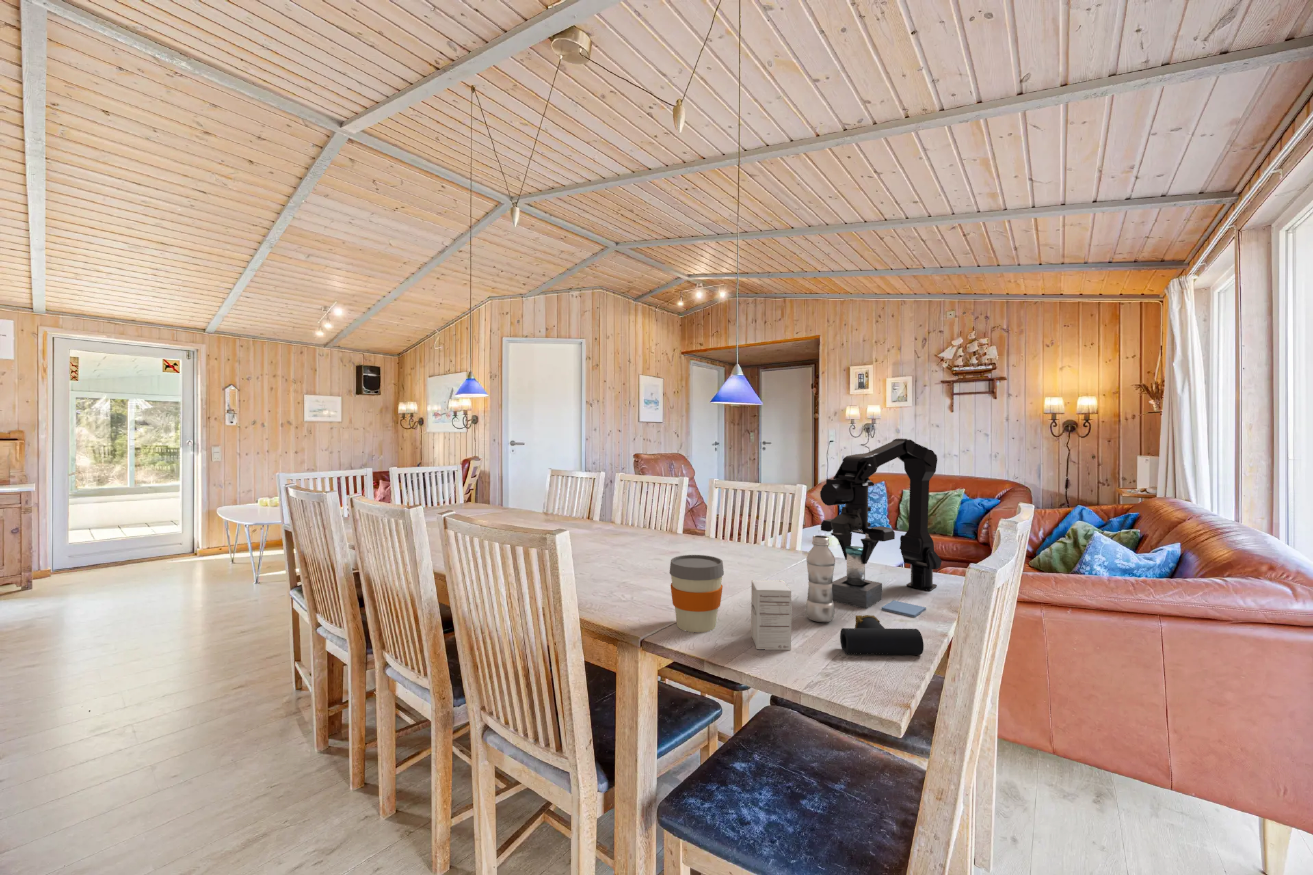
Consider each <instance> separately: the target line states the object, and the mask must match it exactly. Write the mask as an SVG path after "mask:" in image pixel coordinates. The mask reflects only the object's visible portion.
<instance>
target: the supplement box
mask: <svg viewBox="0 0 1313 875" xmlns="http://www.w3.org/2000/svg"><path fill="white" fill-rule="evenodd" d="M750 615H751V616H750V618H751V619H750V623H751V624H750V626H751V627H750V629H751V630H750V635H751V638H752V640H753V642H754V646H755V649H756V650H757V649H765V650H764V651H791V650H792V590H791V589H790V586H788V584H787V583H786V582H785V581H784V580H780V579H777V580H776V579H775V580H774V579H771V580H770V579H769V580H768V579H756V580H754V579H753V580H751V614H750Z"/></svg>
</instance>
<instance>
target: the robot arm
mask: <svg viewBox="0 0 1313 875" xmlns="http://www.w3.org/2000/svg"><path fill="white" fill-rule="evenodd" d="M895 459H898V460H900V461H901V462H902V463H903V468H904V472H905V473H906V475H907V478H908V479H909V498H908V499H909V500H908V507H909V508H908V529H907V531H906V532H905V533H904V535H903V534H902V535H900V538H899V540H900V544H899V550H900V553H901V556H902V560H903V563H904V564H908V565H910V582H908V583H906V585H905V587H908V588H912V587H913V588H914V589H916V590H917V589H918V590H922V591H928V592H929V591H930V592H931V591H932V590H933V589H936V588H937V587H938V585H937V584H935V583H933V582H934V580H933V579H934V570H939V569H940V568H941V566H942V562H943V561H942V559H941V558H940V556H939V555H938V553H937V552H936V550H935V547H934V546H935V544H934V540H933V538H932V536H931V535H930V532H929V528H928V527H929V502H930V500H929V499H930V498H929V497H930V496H929V495H930V481H931V479H932V477H933V476H935V474H936V472H937V464H938V455H937V454H936V453H935V452H934V451H933V450H932V449H929V448H928V447H925V446H923V445H921V444H918V443H917V442H915V441H913V440H912V439H910V438H894V439H892V441H889V442H888V443H885V444H884V445H881V446H879V447H877V448H875V449H872V450H870V451H868V452H865V453H855V454H851V455H846V456H844V457H843V459H842V462H841V463H840V466H839V467H838V469H837V471H836V473H835V474H834V476H833V478H827V479H826V483H825V484H823V485H822V487H821V489H820V492H819V496H820V500H821V501H822V503H823V504H824V505H825V506H830V507H831V506H840V505H844V506H842V508H841V512H840V514H838V515H836V516H835V517H834V518H829V519H824V520H822V521H821V523H820V531H823V532H827V533H829V532H831V533H830V535H831V536H834V538H835V539H836V540H837V541H838V543H839V546H840V549H841V551H842V555H843V557H844V559H845V561H847V553H846V547H847V546H852V538H853V537H852V536H853V533H855V534H861V535H864V538H861V539H860V542H861V543H862V547H863V564H865V565H866V564H867V563H868V562H869V560H870V558H871V556H872V553H873V552H874V549H875V548H876V547H877V545H878V543H879V542H887V541H892V540H895V538H896V536H895V535H896V533H895V531H894V529H893V527H887V526H880V525H879V526H874V527H871V522H869V512H872V507H870V506H869V487H874V486H875V483H874V482H873V480H870V478H871V476H873V475H874V474H875V473H877V471H878V469H879V467H880V466H881V467H882V466H883V465H885V464H887V463H889V462H891V461H893V460H895Z"/></svg>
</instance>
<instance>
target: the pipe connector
mask: <svg viewBox="0 0 1313 875" xmlns="http://www.w3.org/2000/svg"><path fill="white" fill-rule="evenodd" d="M839 634H840V635H839V637H840V638H839V640H840V647H841V650H842V651H843V652H844V654H845V655H886V654H887V655H896V656H897V655H898V656H899V655H901V656H903V655H904V656H905V655H909V656H920V655H922V654H923V652H924V647H925V646H924V645H925V644H924V639H923V635H922V633H921V631H920V630H919V629H918V628H885V627H884V626H883V625H882V624H881V622H880V619H878V618H877V617H876V616H875V615H872V614H871V615H870V614H865V615H862V614H861V615H855V624H854V628H853V627H852V628H850V627H847V628H846V627H844V628H843V627H842V628H841V630H840V633H839ZM887 655H886V656H887Z"/></svg>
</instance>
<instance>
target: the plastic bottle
mask: <svg viewBox="0 0 1313 875" xmlns="http://www.w3.org/2000/svg"><path fill="white" fill-rule="evenodd" d="M811 544H812V545H813V546H812V547H811V549H810V550H809V552H808V553H807V555H806V566H807V580H808V582H807V583H808V588H807V598H806V601H805V608H804V609H805V614H806V616H807V618H808V619H809V620H811V621H814V622H818V623H828V622H831V621H832V620H833V619H834V616H835V605H834V604H835V602H834V601H833V596H832V582H833V581H834V580H833V579H834V571H835V565H836V558H835V555H834V553H833V552H832V551H831V549H830V548H829V546H830V538H829V536H826V535H820V534H819V535H816V534H815V535H812V543H811Z"/></svg>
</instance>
